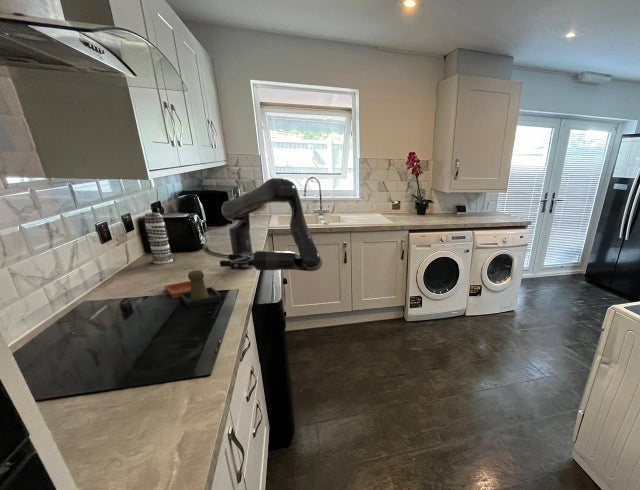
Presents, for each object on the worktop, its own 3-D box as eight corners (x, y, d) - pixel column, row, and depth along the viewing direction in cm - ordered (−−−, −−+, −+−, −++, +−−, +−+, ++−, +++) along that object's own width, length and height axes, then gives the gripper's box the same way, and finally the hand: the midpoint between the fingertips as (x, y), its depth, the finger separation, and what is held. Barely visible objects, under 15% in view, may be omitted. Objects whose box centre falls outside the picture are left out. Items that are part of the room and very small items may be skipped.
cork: (187, 298, 125) (182, 272, 121) (203, 293, 130) (198, 268, 126) (197, 302, 123) (192, 274, 119) (212, 297, 128) (207, 270, 124)
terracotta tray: (165, 290, 133) (164, 285, 133) (197, 283, 141) (196, 279, 141) (173, 298, 126) (172, 293, 125) (205, 291, 134) (205, 286, 133)
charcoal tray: (180, 298, 126) (179, 293, 126) (212, 291, 134) (211, 286, 134) (188, 307, 119) (187, 302, 118) (222, 299, 127) (221, 294, 126)
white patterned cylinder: (177, 258, 174) (167, 212, 165) (167, 264, 165) (156, 214, 156) (159, 258, 173) (149, 211, 164) (148, 263, 164) (136, 214, 156)
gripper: (272, 246, 130) (230, 245, 128) (263, 256, 117) (215, 255, 115) (274, 264, 133) (232, 264, 131) (265, 275, 119) (218, 275, 117)
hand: (224, 260), depth 123 cm, fingers open, 8 cm apart
